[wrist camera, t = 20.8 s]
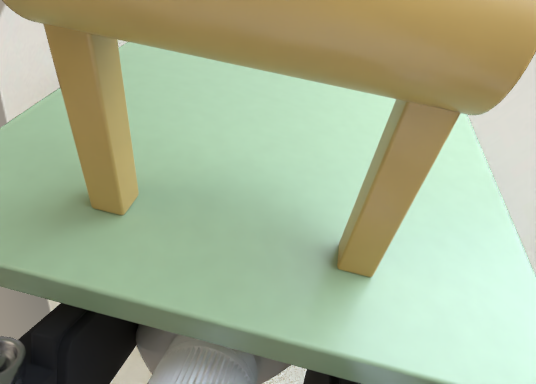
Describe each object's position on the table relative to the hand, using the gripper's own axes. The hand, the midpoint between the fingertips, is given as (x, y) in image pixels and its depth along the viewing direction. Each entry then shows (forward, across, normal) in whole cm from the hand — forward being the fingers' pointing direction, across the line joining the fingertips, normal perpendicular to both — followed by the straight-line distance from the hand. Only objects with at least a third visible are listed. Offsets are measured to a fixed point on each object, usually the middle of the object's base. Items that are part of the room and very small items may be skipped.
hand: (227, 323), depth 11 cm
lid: (+3, 0, -6) cm, 6 cm away
